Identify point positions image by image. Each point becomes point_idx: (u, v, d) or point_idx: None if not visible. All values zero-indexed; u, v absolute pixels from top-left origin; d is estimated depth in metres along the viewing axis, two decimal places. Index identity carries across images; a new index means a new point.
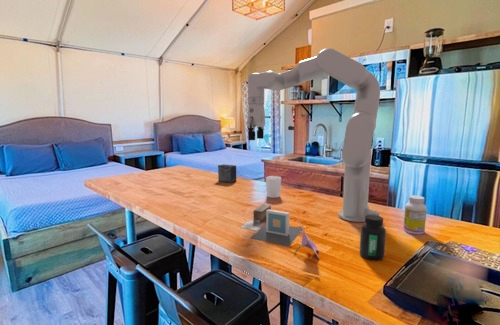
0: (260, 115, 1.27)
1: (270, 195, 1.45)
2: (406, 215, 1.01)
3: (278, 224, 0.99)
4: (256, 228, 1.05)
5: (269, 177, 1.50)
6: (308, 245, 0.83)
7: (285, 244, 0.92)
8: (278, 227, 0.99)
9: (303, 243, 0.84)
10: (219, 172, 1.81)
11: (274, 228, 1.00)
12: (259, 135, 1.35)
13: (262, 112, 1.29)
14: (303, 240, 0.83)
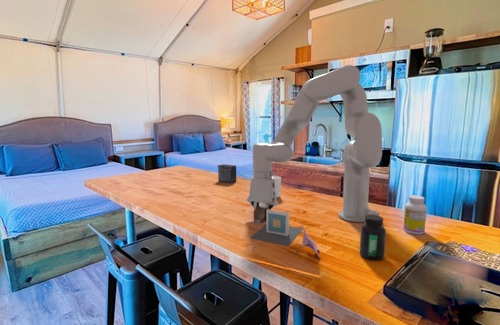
0: None
1: None
2: (406, 215, 1.01)
3: (278, 224, 0.99)
4: None
5: None
6: (309, 245, 0.83)
7: (285, 244, 0.92)
8: (278, 227, 0.99)
9: (304, 243, 0.84)
10: (219, 172, 1.81)
11: (274, 228, 1.00)
12: None
13: None
14: (304, 240, 0.84)
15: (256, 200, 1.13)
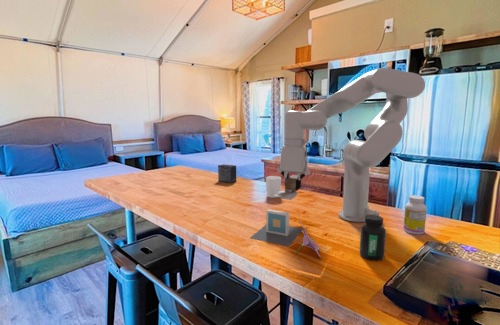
0: None
1: (270, 195, 1.45)
2: (406, 215, 1.01)
3: (278, 224, 0.99)
4: (290, 196, 1.03)
5: (269, 177, 1.50)
6: (310, 244, 0.83)
7: (285, 244, 0.92)
8: (278, 227, 0.99)
9: (305, 243, 0.84)
10: (219, 172, 1.81)
11: (274, 228, 1.00)
12: None
13: None
14: (305, 240, 0.84)
15: (287, 169, 1.11)
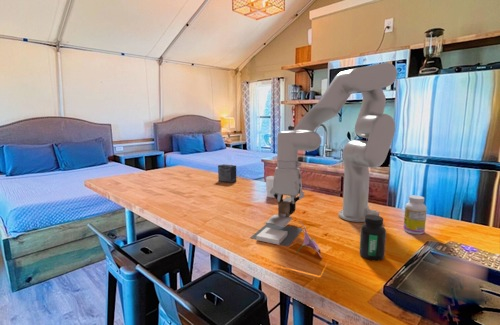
0: None
1: (270, 195, 1.45)
2: (406, 215, 1.01)
3: None
4: (283, 223, 0.98)
5: (269, 177, 1.50)
6: (310, 244, 0.83)
7: (285, 244, 0.92)
8: None
9: (305, 242, 0.84)
10: (219, 172, 1.81)
11: None
12: None
13: None
14: (305, 239, 0.84)
15: (280, 192, 1.05)
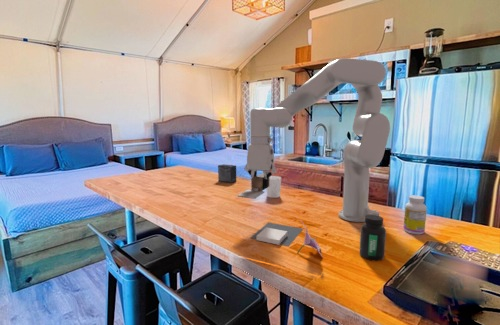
0: None
1: (270, 195, 1.45)
2: (406, 215, 1.01)
3: None
4: (254, 195, 1.01)
5: (269, 177, 1.50)
6: (311, 244, 0.83)
7: (285, 244, 0.92)
8: None
9: (306, 242, 0.84)
10: (219, 172, 1.81)
11: None
12: None
13: None
14: (306, 239, 0.84)
15: (254, 168, 1.09)
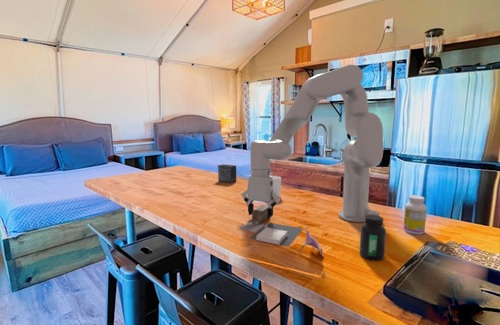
0: None
1: None
2: (406, 215, 1.01)
3: None
4: (255, 229, 1.03)
5: None
6: (312, 243, 0.84)
7: (285, 244, 0.92)
8: None
9: (307, 242, 0.85)
10: (219, 172, 1.81)
11: None
12: (251, 210, 1.14)
13: None
14: (307, 239, 0.84)
15: (254, 198, 1.11)
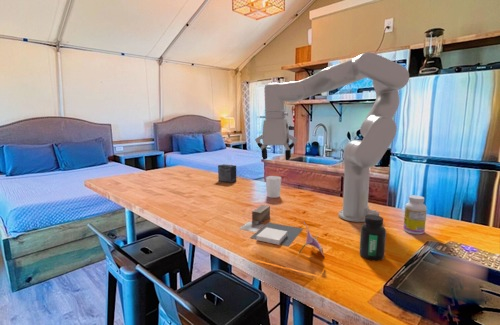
0: None
1: (270, 195, 1.45)
2: (406, 215, 1.01)
3: None
4: (255, 229, 1.03)
5: (269, 177, 1.50)
6: (313, 243, 0.84)
7: (285, 244, 0.92)
8: None
9: (308, 241, 0.85)
10: (219, 172, 1.81)
11: None
12: (265, 155, 1.15)
13: None
14: (308, 238, 0.84)
15: (269, 143, 1.11)
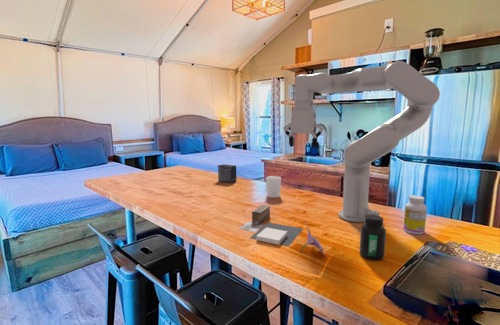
0: None
1: (270, 195, 1.45)
2: (406, 215, 1.01)
3: None
4: (255, 229, 1.03)
5: (269, 177, 1.50)
6: (314, 243, 0.84)
7: (285, 244, 0.92)
8: None
9: (309, 241, 0.85)
10: (219, 172, 1.81)
11: None
12: (292, 143, 1.22)
13: None
14: (309, 238, 0.85)
15: (297, 131, 1.18)
